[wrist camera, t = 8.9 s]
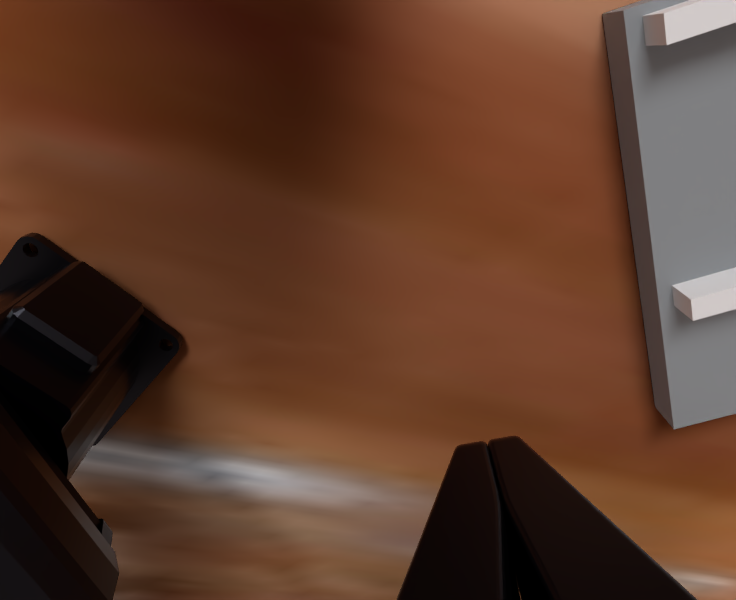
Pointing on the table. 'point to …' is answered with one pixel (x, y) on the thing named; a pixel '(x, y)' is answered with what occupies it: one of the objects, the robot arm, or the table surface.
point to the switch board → (681, 193)
